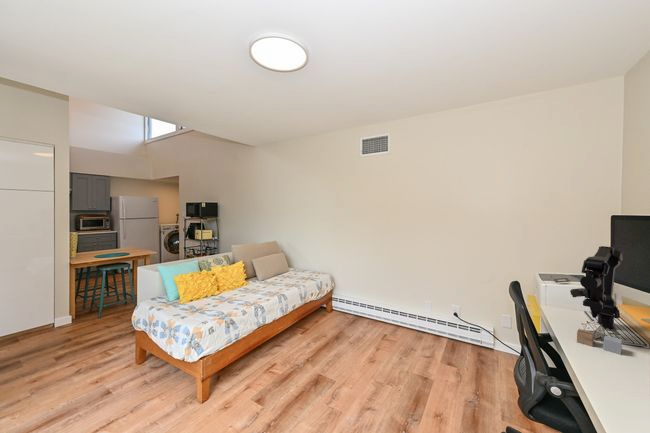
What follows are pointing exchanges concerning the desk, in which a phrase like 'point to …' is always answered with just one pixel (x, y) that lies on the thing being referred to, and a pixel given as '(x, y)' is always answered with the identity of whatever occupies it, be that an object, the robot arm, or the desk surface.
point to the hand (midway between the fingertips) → (594, 317)
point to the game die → (594, 328)
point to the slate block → (612, 344)
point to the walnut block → (585, 337)
